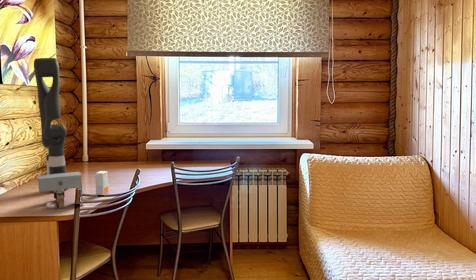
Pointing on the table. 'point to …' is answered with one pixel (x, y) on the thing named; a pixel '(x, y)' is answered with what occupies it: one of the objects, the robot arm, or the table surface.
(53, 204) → the silver rounded piece
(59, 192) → the copper bar
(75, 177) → the low cabinet
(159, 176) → the table surface
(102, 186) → the skincare box
